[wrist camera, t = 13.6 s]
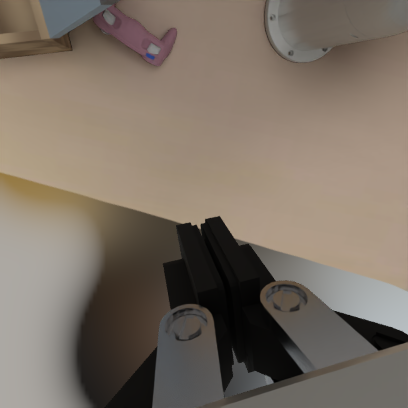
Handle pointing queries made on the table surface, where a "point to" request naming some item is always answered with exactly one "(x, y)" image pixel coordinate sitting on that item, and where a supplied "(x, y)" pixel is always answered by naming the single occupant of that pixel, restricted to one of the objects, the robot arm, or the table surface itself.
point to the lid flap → (70, 13)
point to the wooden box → (26, 30)
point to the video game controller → (135, 35)
